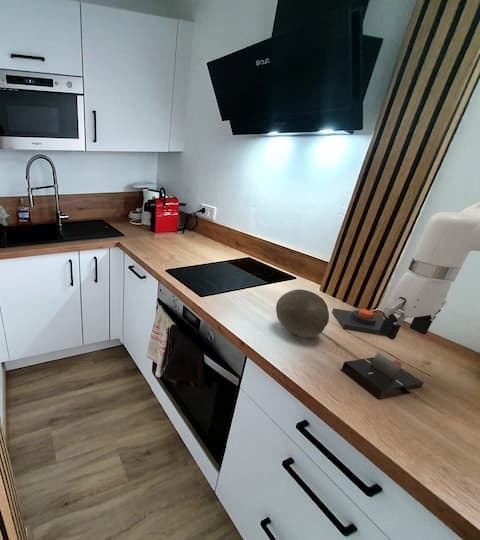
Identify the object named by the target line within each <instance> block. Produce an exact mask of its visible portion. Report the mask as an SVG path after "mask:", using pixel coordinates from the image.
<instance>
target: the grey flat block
mask: <svg viewBox="0 0 480 540" xmlns="http://www.w3.org/2000/svg"><path fill="white" fill-rule="evenodd" d="M359 310H360V309H355V310H352V311H351V310H347V309H342V308H341V309H340V308H334V307H333V308H332V310H331V314H332V316H333V317H334V319H336V321H337V323H338V324H339V325H340V327H341V329H342V330H346V331H351V332H356V333H357V332H358V333H362V334H363V333H364V334H368V335H375V336H381V337H385V336H384V335H382V334H381V333H379V330H380V328H381V326H382V324H383V321H384V319H383V317H382V316H381V315H379V314H373V315H372V318H371V319H367V318H364V317H361V316H359V315H358V312H359Z"/></svg>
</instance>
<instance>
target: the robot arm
mask: <svg viewBox="0 0 480 540" xmlns="http://www.w3.org/2000/svg"><path fill="white" fill-rule="evenodd" d="M472 251H475V252H480V201H478V202H476V203H473V204H471V205H470V206H468V207H465V208H464V209H462V210H460V211H459V212H456V211H440V212H439V211H438V212H436V213H434V214H432V215H431V217H430V218H429V220H428V221H427V224H426V226H425V229H424V231H423V232H422V235H421V238H420V240H419V242H418V244H417V248H416V250H415V252H414V254H413V256H412V258H411V259H410V262H409V265H408V267H407V269H406V272H404V274H403V275H402V276H401V278H400V279H399V281H398V283H397V284H396V286H395V288H394V290H393V291H392V293H391V295H390V297H389V299H388V301H387V304H386V305H385V306H383V313H382V316H383V317H382V319H383V320H384V321H383V324H382V326H381V328H380V330H379V333H381V334H382V335H384V336H383V337H387V338H388V339H390V340H395V339H396V337H397V335H398V333H399V331H400V329H401V326H402V325H400V324H402V322H403V321H405V319H411V318H413V319H412V321H411V323H410V325H409V328H410V329H411V330H412V331H415V332H417V333H419V334H420V335H427V333H428V331H429V330H430V328H431V325H432V324H433V321H434V320H435V319H436V318H437V315H438V314H439V313H440V312H441V311H442V310H441V309H442V308H443V307H444V306H445V305H446V304H447V301H446V298H447V296H448V293H449V291H450V289H451V285H452V283H454V282H455V281H456V279H457V277H458V275H459V273H460V271H461V270H462V268H463V265H464V264H465V262H466V259H467V258H468V256H469V254H470V252H472ZM395 314H396V315H398V317H397V316H396V315H395Z"/></svg>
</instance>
